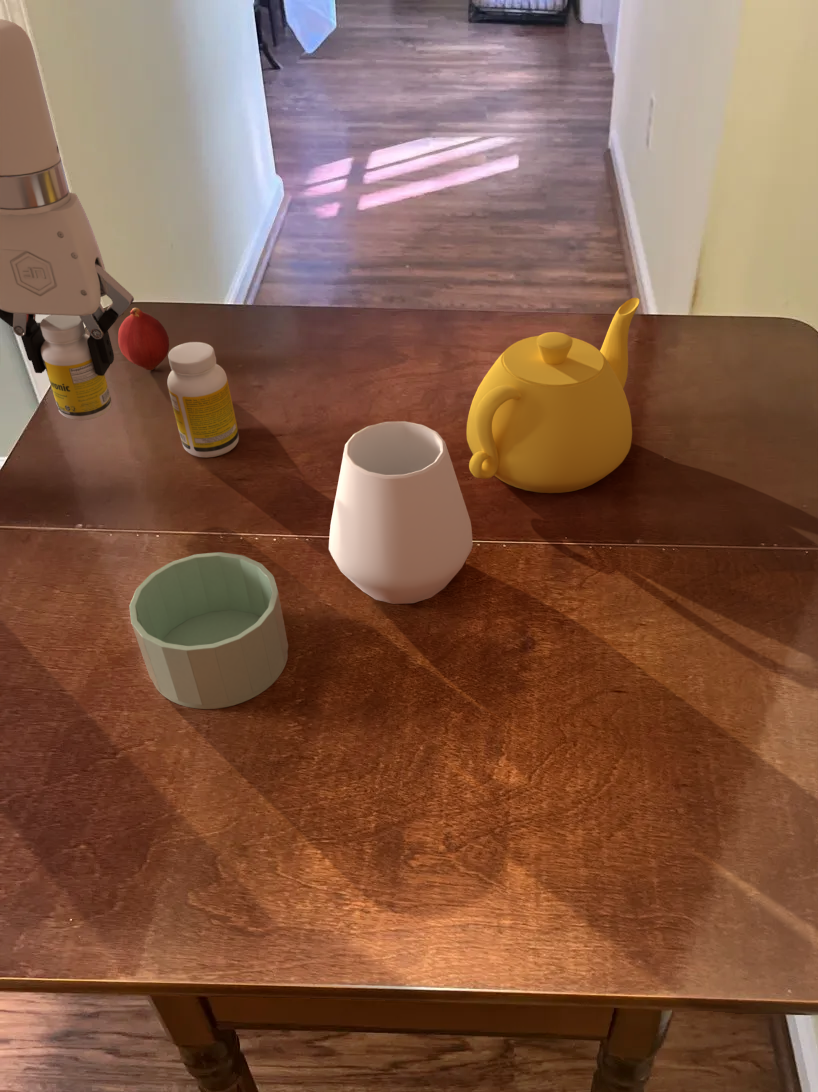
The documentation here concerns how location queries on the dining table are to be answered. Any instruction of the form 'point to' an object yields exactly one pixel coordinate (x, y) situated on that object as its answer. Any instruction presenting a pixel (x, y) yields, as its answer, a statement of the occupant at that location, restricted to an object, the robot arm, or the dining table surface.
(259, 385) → the dining table surface
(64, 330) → the supplement bottle
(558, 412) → the teapot
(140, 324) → the onion
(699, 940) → the dining table surface
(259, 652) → the bowl
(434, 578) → the cup
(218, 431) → the pill bottle
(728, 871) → the dining table surface
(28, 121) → the robot arm
